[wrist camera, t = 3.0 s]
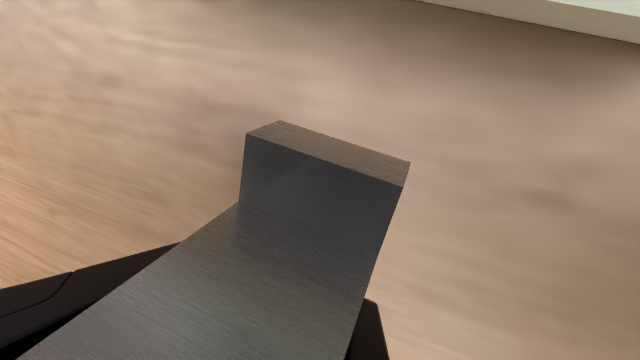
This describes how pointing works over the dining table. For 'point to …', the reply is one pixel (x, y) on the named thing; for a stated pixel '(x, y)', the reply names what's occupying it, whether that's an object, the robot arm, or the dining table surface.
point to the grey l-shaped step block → (256, 264)
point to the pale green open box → (564, 14)
